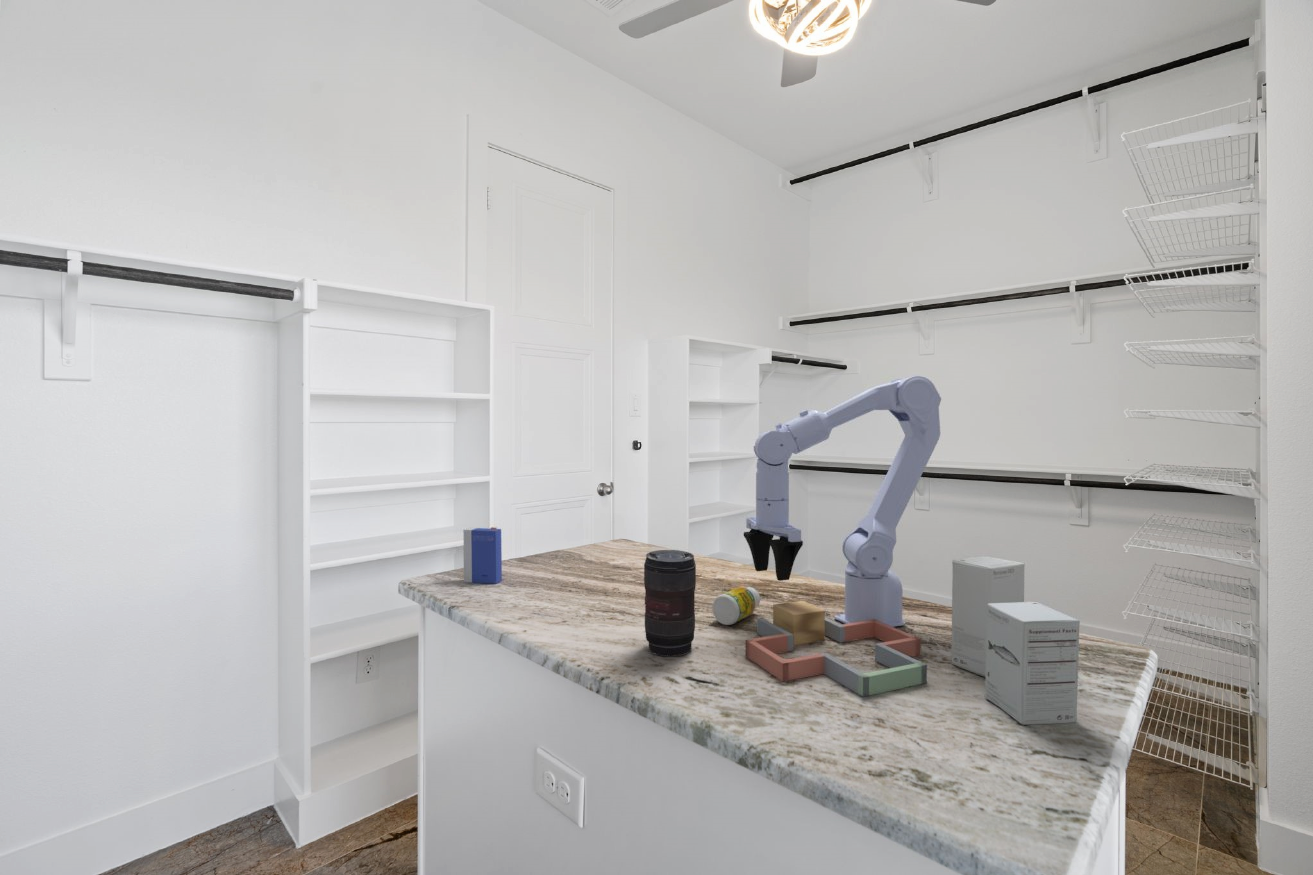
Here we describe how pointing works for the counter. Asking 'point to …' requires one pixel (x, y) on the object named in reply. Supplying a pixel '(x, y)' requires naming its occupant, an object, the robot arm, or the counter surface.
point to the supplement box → (1032, 662)
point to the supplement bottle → (735, 605)
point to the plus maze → (887, 653)
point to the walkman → (482, 555)
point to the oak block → (800, 621)
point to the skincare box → (979, 604)
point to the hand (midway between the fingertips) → (771, 575)
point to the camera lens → (669, 601)
